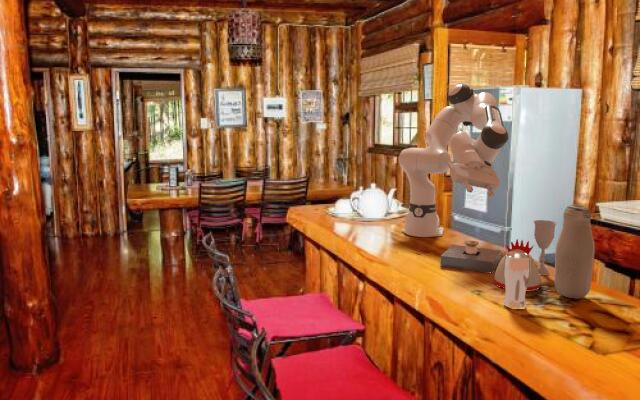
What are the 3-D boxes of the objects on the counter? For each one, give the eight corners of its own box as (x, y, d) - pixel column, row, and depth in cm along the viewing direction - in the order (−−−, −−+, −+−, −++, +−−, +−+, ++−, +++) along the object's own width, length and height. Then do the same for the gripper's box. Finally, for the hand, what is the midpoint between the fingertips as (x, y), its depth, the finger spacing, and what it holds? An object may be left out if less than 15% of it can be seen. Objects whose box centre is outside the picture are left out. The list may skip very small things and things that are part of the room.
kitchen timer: (535, 295, 161) (538, 246, 159) (489, 287, 168) (491, 241, 166) (543, 282, 173) (546, 237, 170) (500, 276, 180) (502, 232, 178)
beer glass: (497, 302, 154) (500, 252, 152) (520, 301, 155) (524, 251, 152) (508, 311, 147) (511, 258, 145) (532, 310, 148) (535, 258, 146)
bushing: (464, 261, 198) (465, 239, 197) (478, 262, 196) (479, 241, 195) (462, 264, 194) (463, 242, 192) (476, 265, 191) (477, 243, 190)
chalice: (552, 271, 185) (556, 221, 182) (553, 277, 178) (557, 224, 176) (529, 269, 187) (533, 219, 184) (530, 275, 181) (534, 223, 178)
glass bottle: (594, 297, 159) (602, 205, 155) (582, 305, 152) (591, 209, 147) (559, 289, 166) (566, 201, 162) (547, 297, 159) (554, 205, 154)
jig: (452, 254, 206) (452, 244, 206) (500, 260, 198) (501, 250, 198) (440, 266, 191) (440, 255, 190) (492, 273, 182) (493, 262, 182)
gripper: (451, 155, 196) (462, 183, 187) (495, 165, 203) (508, 192, 194) (442, 166, 200) (452, 194, 191) (486, 175, 208) (498, 203, 199)
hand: (481, 193), depth 193 cm, fingers open, 8 cm apart
